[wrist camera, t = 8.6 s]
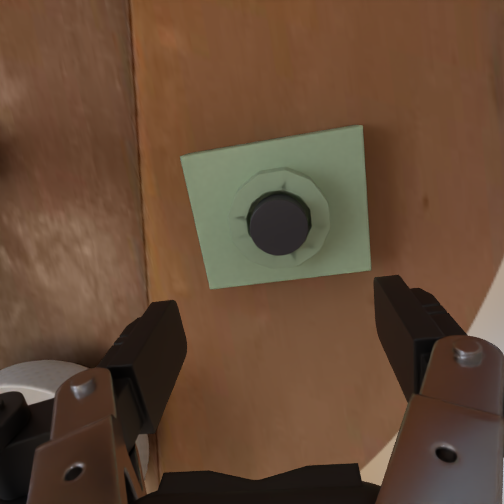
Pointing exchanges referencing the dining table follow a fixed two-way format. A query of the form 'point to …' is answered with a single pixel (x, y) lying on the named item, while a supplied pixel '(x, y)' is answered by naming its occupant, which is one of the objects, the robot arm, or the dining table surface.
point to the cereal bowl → (51, 388)
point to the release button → (278, 225)
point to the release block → (288, 183)
